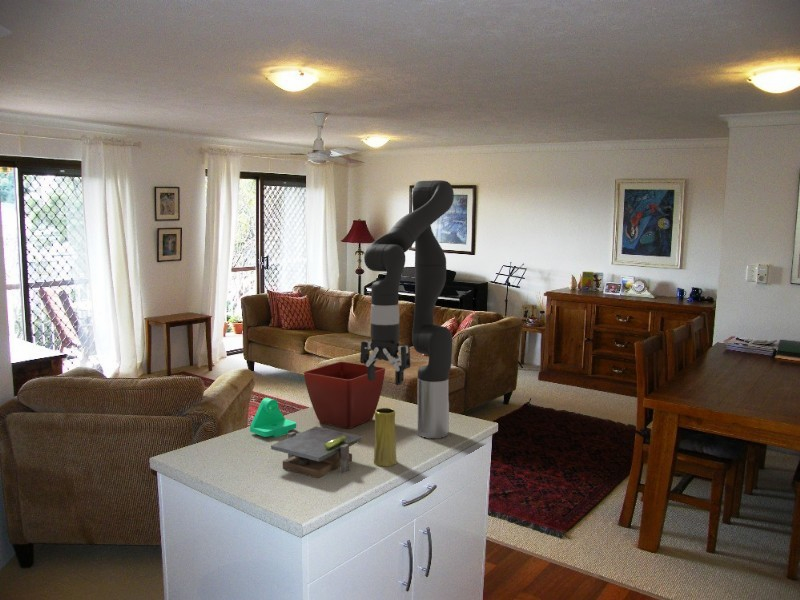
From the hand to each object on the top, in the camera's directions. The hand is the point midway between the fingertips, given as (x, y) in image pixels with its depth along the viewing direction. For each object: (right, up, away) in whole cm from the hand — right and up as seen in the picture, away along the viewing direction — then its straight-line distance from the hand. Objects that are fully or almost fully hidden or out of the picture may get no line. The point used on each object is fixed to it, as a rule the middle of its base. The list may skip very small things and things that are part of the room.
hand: (385, 382), depth 173 cm
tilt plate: (-18, -16, 0) cm, 24 cm away
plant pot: (-14, -17, +39) cm, 44 cm away
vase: (0, -22, +3) cm, 22 cm away
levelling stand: (-18, -22, +1) cm, 28 cm away
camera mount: (-34, -19, +27) cm, 48 cm away
